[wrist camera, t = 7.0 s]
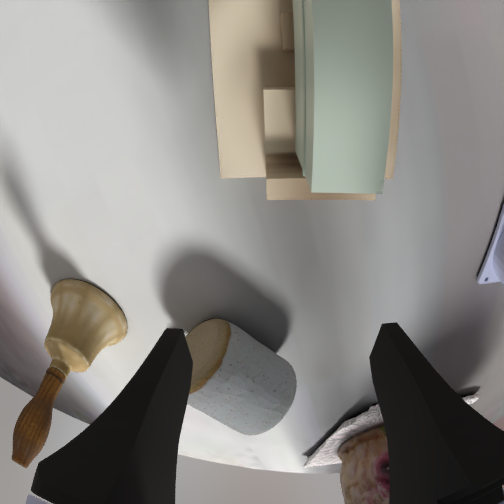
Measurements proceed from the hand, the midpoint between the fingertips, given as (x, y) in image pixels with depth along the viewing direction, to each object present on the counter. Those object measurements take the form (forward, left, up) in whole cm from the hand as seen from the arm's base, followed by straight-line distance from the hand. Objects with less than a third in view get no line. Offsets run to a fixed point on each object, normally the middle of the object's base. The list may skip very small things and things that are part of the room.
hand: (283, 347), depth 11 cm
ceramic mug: (+4, +13, -10) cm, 17 cm away
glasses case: (-2, -11, -7) cm, 13 cm away
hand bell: (+17, +9, -10) cm, 22 cm away
